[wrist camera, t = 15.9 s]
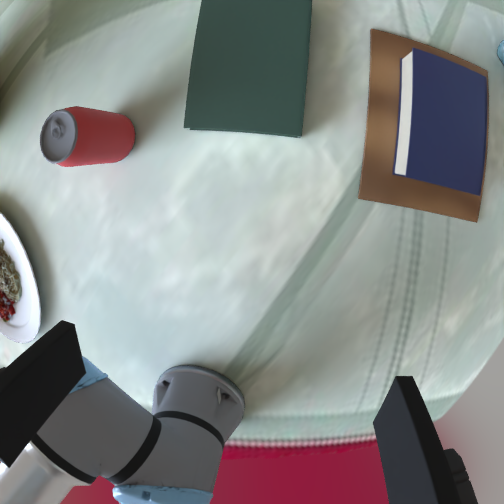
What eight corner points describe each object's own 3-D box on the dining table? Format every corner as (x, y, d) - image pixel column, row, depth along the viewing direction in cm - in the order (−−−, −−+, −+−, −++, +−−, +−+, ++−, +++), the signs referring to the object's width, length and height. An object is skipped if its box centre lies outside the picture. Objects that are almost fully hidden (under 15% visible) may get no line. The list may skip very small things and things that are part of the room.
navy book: (461, 191, 31) (480, 196, 26) (392, 174, 32) (406, 176, 27) (468, 83, 26) (486, 77, 22) (399, 58, 27) (413, 47, 23)
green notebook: (300, 138, 32) (301, 136, 30) (190, 129, 33) (183, 127, 31) (311, 6, 27) (312, -3, 24) (207, 3, 28) (202, -5, 25)
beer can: (128, 105, 33) (70, 91, 22) (144, 148, 35) (87, 148, 23) (91, 129, 34) (31, 127, 23) (106, 170, 36) (46, 180, 25)
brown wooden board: (475, 222, 32) (477, 222, 32) (357, 198, 33) (358, 198, 33) (485, 71, 25) (487, 70, 25) (370, 29, 27) (371, 28, 26)
